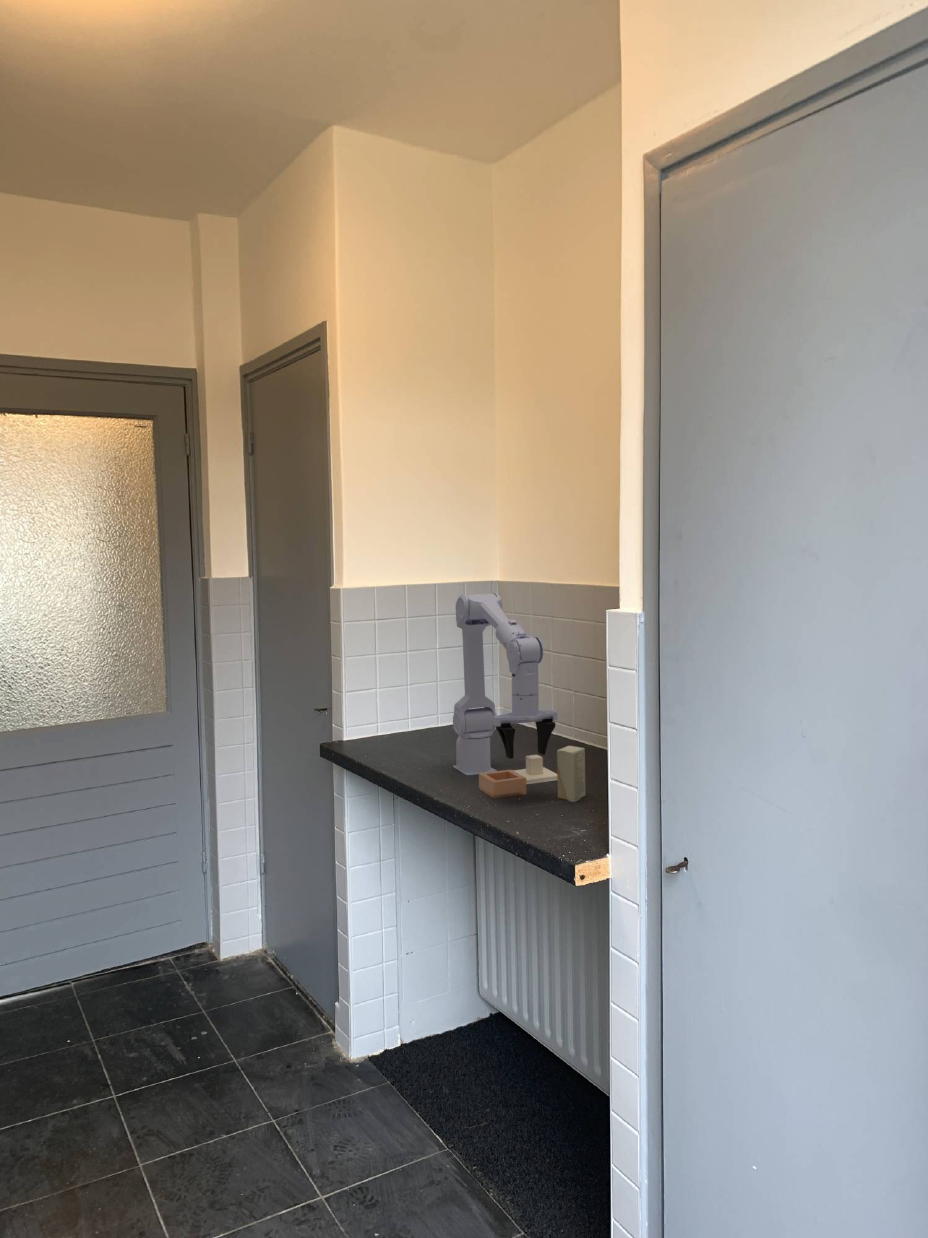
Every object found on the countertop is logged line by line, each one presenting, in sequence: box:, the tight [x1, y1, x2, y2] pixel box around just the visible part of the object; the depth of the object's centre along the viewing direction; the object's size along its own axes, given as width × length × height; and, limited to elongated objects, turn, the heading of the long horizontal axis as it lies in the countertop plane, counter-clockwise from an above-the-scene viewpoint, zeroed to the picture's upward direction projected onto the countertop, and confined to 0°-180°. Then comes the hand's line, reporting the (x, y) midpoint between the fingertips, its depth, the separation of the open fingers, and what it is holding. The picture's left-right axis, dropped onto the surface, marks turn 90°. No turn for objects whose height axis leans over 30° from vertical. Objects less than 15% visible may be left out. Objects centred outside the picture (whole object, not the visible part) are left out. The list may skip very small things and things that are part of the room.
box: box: [556, 745, 586, 803], centre depth 196 cm, size 5×4×11 cm
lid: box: [512, 754, 557, 784], centre depth 213 cm, size 9×9×5 cm
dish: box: [478, 769, 527, 800], centre depth 201 cm, size 8×8×4 cm
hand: (525, 755), depth 195 cm, fingers open, 7 cm apart
